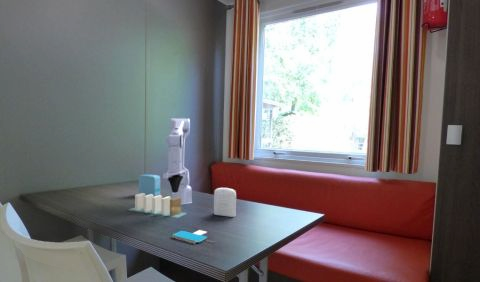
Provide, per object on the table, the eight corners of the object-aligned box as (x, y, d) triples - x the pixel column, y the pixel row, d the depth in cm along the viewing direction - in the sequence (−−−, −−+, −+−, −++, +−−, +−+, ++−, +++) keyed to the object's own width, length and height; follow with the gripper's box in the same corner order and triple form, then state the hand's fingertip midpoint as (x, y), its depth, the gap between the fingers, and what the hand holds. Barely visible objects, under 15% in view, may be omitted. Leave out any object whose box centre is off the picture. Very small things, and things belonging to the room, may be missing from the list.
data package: (160, 196, 166) (160, 175, 166) (154, 198, 162) (154, 176, 162) (144, 194, 172) (144, 173, 171) (138, 195, 168) (138, 174, 167)
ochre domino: (169, 215, 130) (169, 199, 130) (178, 212, 134) (178, 197, 134) (172, 215, 129) (172, 200, 129) (180, 213, 133) (180, 197, 133)
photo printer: (237, 215, 133) (237, 187, 133) (234, 217, 129) (234, 189, 128) (215, 212, 136) (216, 186, 136) (212, 215, 132) (212, 188, 132)
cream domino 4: (161, 214, 132) (161, 198, 132) (168, 211, 137) (168, 196, 136) (164, 214, 131) (164, 199, 131) (170, 211, 136) (170, 196, 136)
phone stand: (225, 238, 107) (225, 233, 107) (205, 249, 97) (205, 244, 97) (183, 227, 117) (183, 223, 117) (161, 237, 107) (161, 232, 107)
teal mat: (128, 210, 138) (128, 209, 138) (138, 206, 145) (138, 206, 145) (178, 218, 127) (178, 217, 127) (187, 214, 134) (187, 213, 134)
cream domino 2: (143, 211, 136) (143, 196, 136) (150, 208, 140) (150, 194, 140) (146, 211, 135) (146, 196, 135) (153, 209, 140) (153, 194, 140)
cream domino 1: (135, 210, 138) (134, 195, 138) (142, 207, 142) (142, 193, 142) (137, 210, 137) (137, 195, 137) (145, 207, 142) (145, 193, 142)
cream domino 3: (152, 212, 134) (152, 197, 134) (159, 209, 138) (159, 195, 138) (155, 213, 133) (154, 197, 133) (162, 210, 138) (162, 195, 138)
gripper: (177, 159, 139) (177, 188, 140) (157, 162, 126) (157, 194, 126) (189, 160, 136) (189, 189, 137) (170, 163, 123) (170, 196, 124)
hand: (175, 192), depth 132 cm, fingers closed
